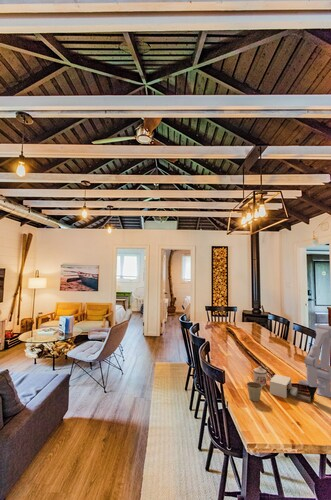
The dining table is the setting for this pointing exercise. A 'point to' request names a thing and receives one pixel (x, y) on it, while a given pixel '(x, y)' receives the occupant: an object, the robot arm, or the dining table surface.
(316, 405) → the dining table surface
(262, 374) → the teacup with lid
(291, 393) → the grey rounded lump
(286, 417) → the dining table surface
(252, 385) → the flower pot
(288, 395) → the tray
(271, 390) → the grey rectangular block
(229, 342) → the dining table surface
